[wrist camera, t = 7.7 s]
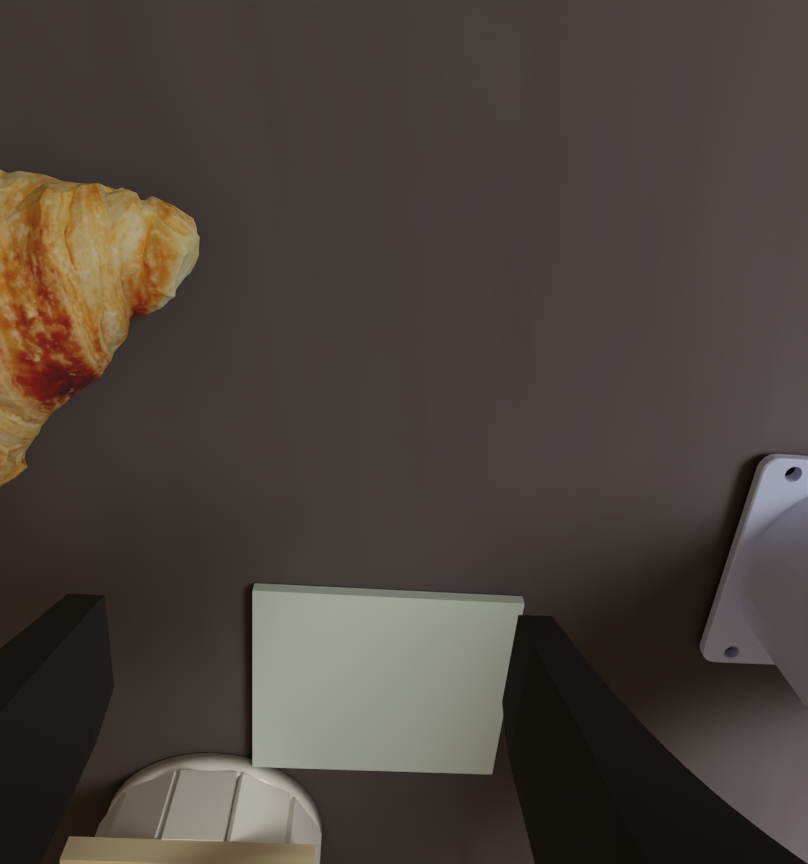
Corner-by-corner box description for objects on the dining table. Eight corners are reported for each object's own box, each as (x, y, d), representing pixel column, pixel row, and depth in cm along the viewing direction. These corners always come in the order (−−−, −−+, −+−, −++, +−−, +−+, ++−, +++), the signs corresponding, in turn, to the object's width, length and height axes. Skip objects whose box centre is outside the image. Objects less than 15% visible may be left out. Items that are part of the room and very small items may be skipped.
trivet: (522, 596, 25) (524, 603, 24) (490, 765, 28) (492, 774, 28) (254, 583, 24) (252, 590, 24) (253, 758, 27) (252, 766, 27)
